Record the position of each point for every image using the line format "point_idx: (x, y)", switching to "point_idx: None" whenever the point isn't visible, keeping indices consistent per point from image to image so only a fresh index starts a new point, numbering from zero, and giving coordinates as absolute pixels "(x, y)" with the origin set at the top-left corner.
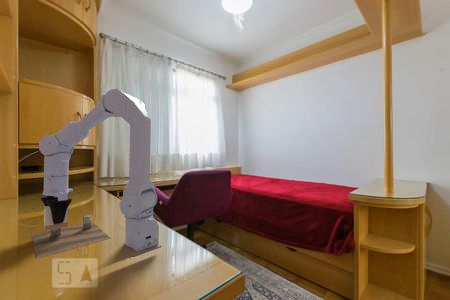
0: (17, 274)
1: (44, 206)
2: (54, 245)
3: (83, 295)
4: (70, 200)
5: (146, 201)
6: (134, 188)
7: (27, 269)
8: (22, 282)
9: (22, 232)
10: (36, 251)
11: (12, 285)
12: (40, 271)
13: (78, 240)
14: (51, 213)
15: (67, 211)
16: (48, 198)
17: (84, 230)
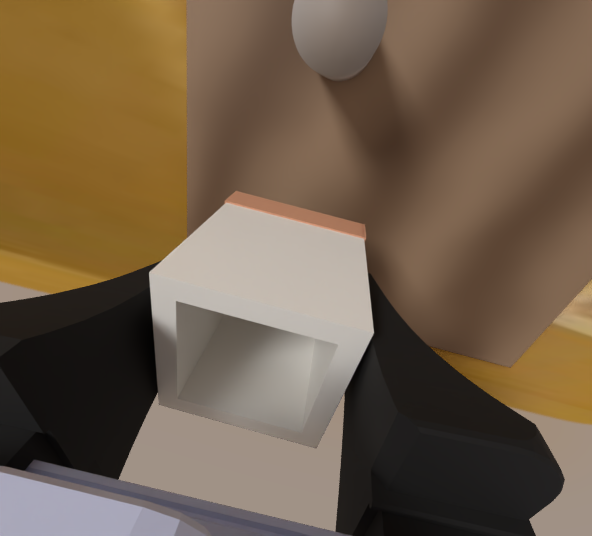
0: (507, 386)
1: (168, 406)
2: (445, 290)
3: None
4: (557, 466)
5: None
6: None
7: (504, 368)
8: (581, 398)
9: (59, 255)
10: (433, 342)
11: (565, 410)
12: (573, 361)
13: (521, 202)
14: (345, 392)
15: (368, 292)
16: (92, 464)
17: (368, 81)
